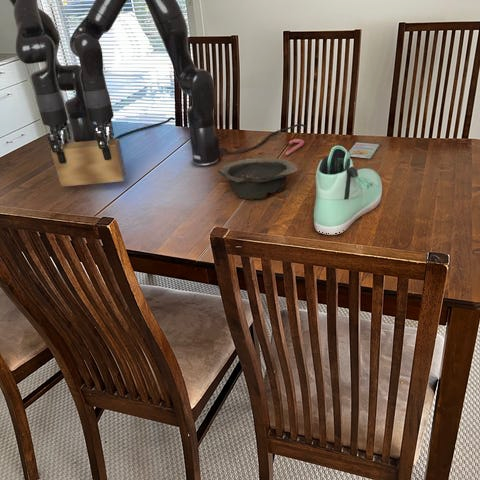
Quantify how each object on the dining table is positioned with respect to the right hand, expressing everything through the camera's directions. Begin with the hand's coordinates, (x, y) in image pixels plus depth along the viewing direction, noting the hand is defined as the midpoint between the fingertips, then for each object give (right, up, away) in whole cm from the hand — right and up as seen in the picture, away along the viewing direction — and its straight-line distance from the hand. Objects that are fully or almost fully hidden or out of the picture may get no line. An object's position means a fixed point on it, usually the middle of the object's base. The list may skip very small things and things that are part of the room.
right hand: (110, 155), depth 154 cm
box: (-6, -7, +4) cm, 11 cm away
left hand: (-14, -1, 0) cm, 14 cm away
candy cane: (+62, +7, +28) cm, 68 cm away
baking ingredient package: (+87, +5, +22) cm, 90 cm away
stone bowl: (+48, -11, +1) cm, 49 cm away
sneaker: (+73, -18, -15) cm, 77 cm away
